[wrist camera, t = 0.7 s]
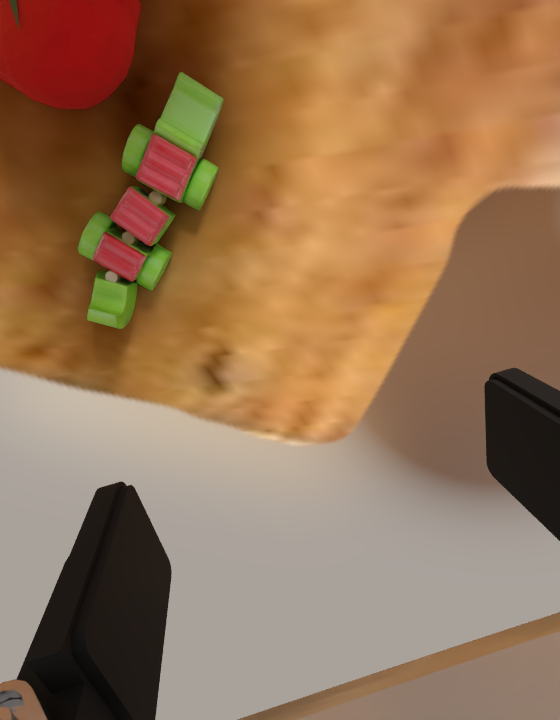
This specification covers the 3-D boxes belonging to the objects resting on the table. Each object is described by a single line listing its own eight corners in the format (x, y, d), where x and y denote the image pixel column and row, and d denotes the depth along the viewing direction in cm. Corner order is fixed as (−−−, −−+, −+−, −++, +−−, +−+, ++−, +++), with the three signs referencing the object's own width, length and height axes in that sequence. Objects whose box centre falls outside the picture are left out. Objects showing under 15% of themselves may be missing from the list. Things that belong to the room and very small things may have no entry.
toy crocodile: (171, 69, 30) (162, 37, 25) (246, 125, 32) (253, 107, 27) (66, 289, 35) (38, 304, 29) (138, 325, 37) (124, 346, 31)
